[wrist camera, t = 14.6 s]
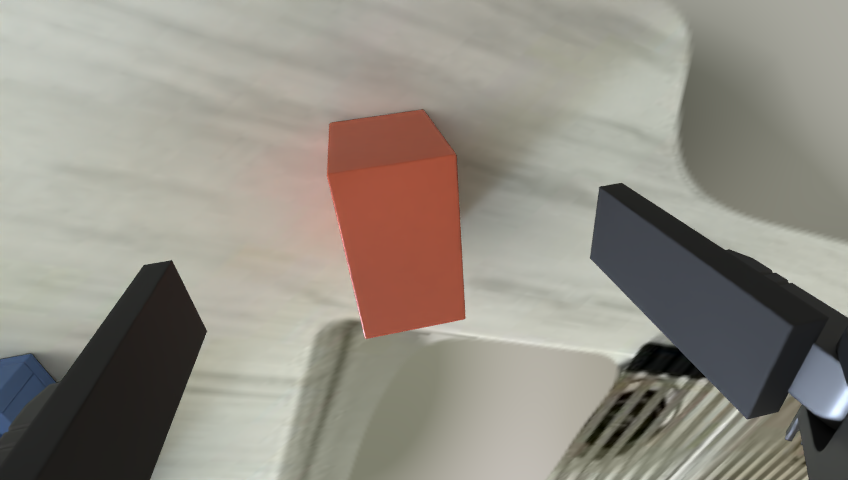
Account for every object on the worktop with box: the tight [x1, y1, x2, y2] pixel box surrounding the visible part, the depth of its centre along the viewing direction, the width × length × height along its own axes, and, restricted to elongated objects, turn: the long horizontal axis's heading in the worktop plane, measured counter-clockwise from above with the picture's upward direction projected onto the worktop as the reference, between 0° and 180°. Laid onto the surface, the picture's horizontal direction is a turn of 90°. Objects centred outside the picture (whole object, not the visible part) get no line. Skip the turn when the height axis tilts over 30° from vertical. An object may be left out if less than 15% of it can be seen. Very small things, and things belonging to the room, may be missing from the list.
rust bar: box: [327, 110, 465, 339], centre depth 15 cm, size 6×4×5 cm, turn 5°
